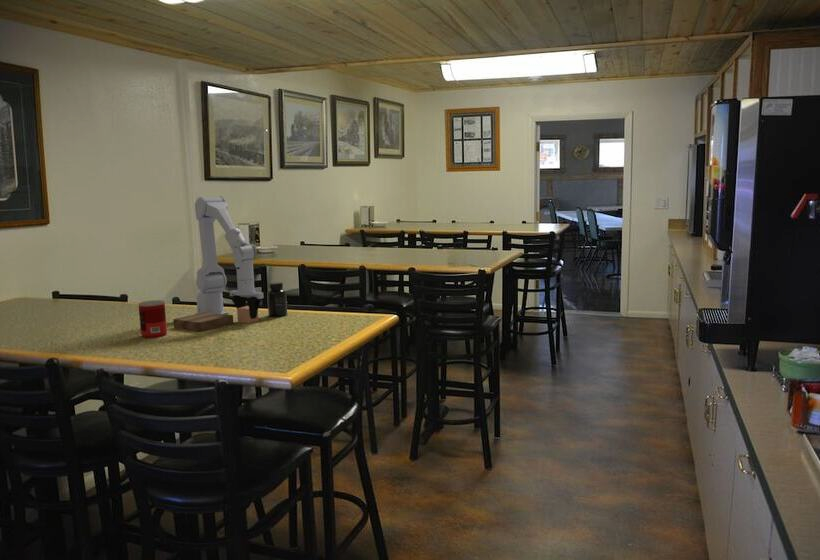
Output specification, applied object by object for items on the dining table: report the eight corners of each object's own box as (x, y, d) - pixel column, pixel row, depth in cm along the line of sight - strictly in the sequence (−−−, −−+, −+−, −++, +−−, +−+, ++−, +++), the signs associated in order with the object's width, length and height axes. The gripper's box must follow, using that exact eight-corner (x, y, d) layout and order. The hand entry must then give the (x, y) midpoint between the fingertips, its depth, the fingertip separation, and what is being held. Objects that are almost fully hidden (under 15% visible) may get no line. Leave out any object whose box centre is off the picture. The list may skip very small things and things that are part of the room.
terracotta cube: (237, 322, 238) (236, 308, 237) (248, 319, 242) (247, 305, 241) (248, 323, 235) (247, 309, 234) (258, 320, 239) (257, 306, 238)
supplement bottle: (289, 313, 251) (287, 281, 249) (284, 317, 244) (282, 284, 243) (271, 313, 252) (269, 281, 250) (266, 317, 245) (264, 284, 243)
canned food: (172, 333, 222) (169, 300, 221) (155, 338, 215) (152, 304, 213) (153, 332, 225) (150, 299, 223) (136, 337, 217) (133, 304, 216)
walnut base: (173, 327, 231) (173, 319, 230) (206, 320, 243) (205, 312, 242) (201, 331, 224) (201, 322, 223) (233, 323, 235) (233, 315, 235)
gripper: (222, 279, 237) (224, 317, 239) (252, 282, 229) (254, 321, 231) (237, 277, 243) (239, 314, 245) (266, 279, 235) (269, 317, 237)
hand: (247, 317), depth 238 cm, fingers closed on terracotta cube, 5 cm apart
